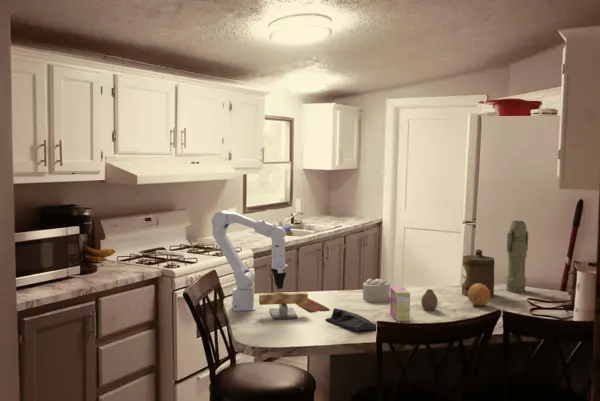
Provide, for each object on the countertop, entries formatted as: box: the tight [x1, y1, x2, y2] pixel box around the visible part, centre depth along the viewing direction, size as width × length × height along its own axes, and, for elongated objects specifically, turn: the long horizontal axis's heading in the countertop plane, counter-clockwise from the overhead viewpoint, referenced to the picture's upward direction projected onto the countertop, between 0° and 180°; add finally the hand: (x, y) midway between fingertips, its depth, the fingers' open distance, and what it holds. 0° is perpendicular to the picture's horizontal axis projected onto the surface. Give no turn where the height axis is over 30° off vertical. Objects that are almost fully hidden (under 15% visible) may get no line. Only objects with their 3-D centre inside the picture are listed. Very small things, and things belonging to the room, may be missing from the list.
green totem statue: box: [505, 220, 529, 294], centre depth 276 cm, size 9×12×35 cm
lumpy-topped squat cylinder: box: [362, 278, 391, 302], centre depth 260 cm, size 10×13×9 cm
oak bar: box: [258, 291, 309, 306], centre depth 230 cm, size 20×3×4 cm, turn 99°
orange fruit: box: [467, 283, 491, 307], centre depth 248 cm, size 10×10×10 cm
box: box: [389, 286, 411, 322], centre depth 228 cm, size 10×6×12 cm, turn 5°
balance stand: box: [269, 304, 299, 321], centre depth 231 cm, size 10×14×5 cm
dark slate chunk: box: [325, 307, 377, 332], centre depth 219 cm, size 15×22×5 cm
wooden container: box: [461, 249, 495, 298], centre depth 268 cm, size 15×15×22 cm
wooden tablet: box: [297, 298, 330, 313], centre depth 249 cm, size 27×10×2 cm, turn 24°
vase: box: [421, 288, 439, 312], centre depth 241 cm, size 7×7×9 cm
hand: (278, 286), depth 237 cm, fingers open, 7 cm apart
